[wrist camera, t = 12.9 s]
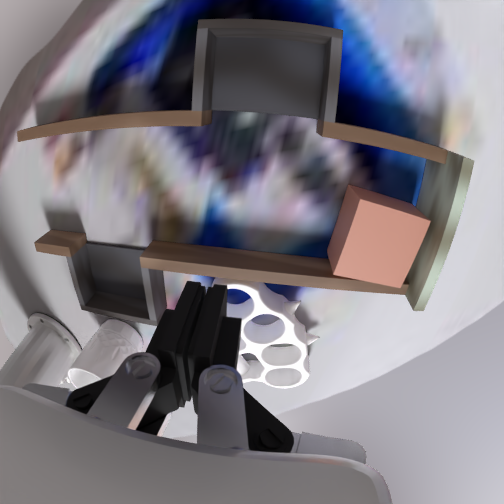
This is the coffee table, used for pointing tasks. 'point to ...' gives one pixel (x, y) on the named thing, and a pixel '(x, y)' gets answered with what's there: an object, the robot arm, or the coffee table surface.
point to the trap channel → (262, 101)
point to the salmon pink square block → (376, 237)
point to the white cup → (105, 353)
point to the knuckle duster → (270, 336)
